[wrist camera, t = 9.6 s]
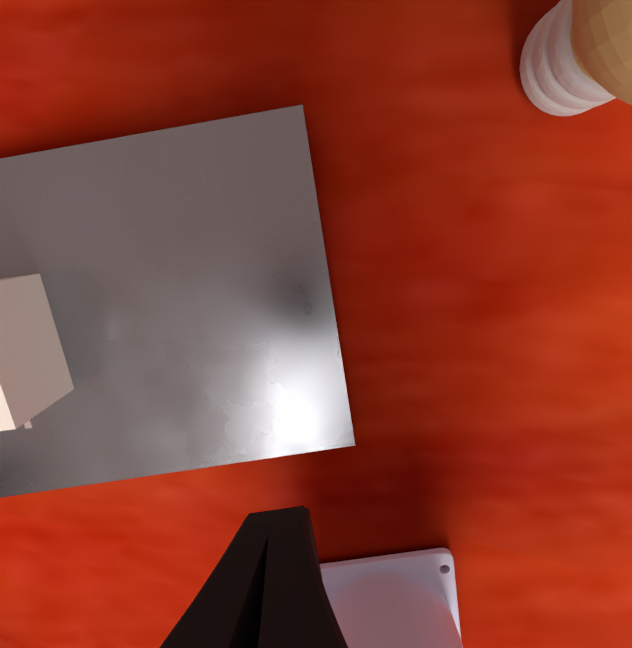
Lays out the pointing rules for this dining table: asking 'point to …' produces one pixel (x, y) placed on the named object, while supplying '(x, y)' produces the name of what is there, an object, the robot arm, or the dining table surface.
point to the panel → (176, 302)
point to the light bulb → (579, 56)
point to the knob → (28, 352)
